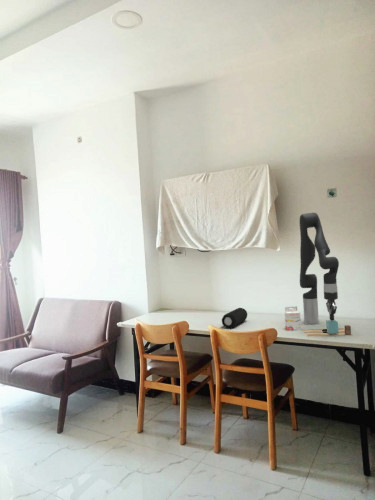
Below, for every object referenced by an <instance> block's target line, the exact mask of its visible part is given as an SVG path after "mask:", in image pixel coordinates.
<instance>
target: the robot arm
mask: <svg viewBox="0 0 375 500" xmlns="http://www.w3.org/2000/svg"><path fill="white" fill-rule="evenodd" d="M311 228H314V230H315V236H314V240H313V241H312V239H311V238H310V236H309V233H308V229H311ZM299 232H300V251H299V252H300V253H299V255H300V257H299V258H300V268H299V272H300V273H299V285H300V288H301V289H310V290H308V291H306V292H304V293H302V303H303V304H302V305H303V306H302V307H303V321H304V322H303V324H304V325H319V323H320V322H319V321H320V320H319V305H318V304H319V303H318V302H319V300H318V277H317V275H316V274H315V273H308V274H307V271H308V268H309V267H310V265H312V263H313V261H314V259H315V258H316V252H317V255H318V264H319V266H320V268H321V269H322V270H329V271H328V272H326V273H324V274H323V299H324V300H326V302H325V305H326V309H327V312H328V314H329V320H335V314H336V313H337V309H338V306H336V305H337V303H336V300H338V298H339V296H338V295H339V294H338V293H339V291H338V285H337V275H338V270H339V266H340V264H339V263H340V262H339V259H338V258H337V257H336V256H328V255H330V253H331V249H330V247H329V244H328V243H327V241H326V240H327V239H326V238H325V235H324V231H323V226H322V223H321V220H320V217H319V214H318V213H317V212H307V213H302V214H301V215H300V216H299Z"/></svg>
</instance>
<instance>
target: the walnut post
mask: <svg viewBox="0 0 375 500" xmlns="http://www.w3.org/2000/svg"><path fill="white" fill-rule="evenodd" d="M343 326H344V329H345V334H346V335H345V336H352V335H351V334H352V328H351V325H347V324H345V325H343Z"/></svg>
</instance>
